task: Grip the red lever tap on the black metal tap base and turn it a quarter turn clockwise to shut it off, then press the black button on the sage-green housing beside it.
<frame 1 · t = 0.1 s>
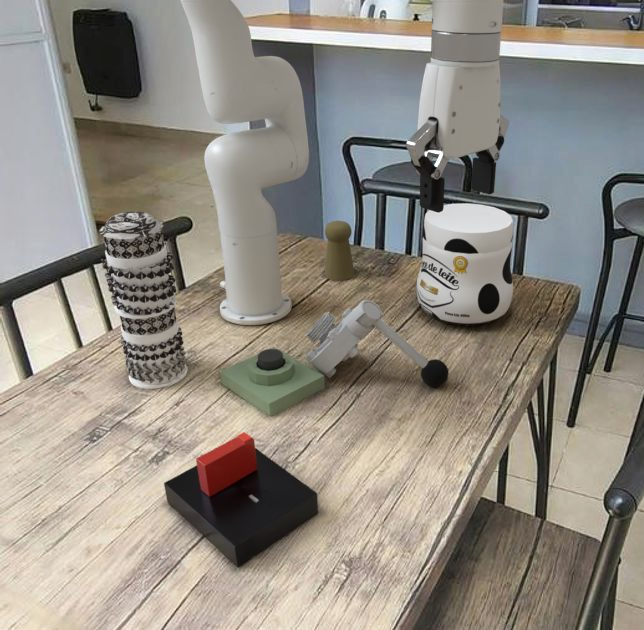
hand: (457, 200, 82), 31 cm above the table, tool pointing down, fingers open, 9 cm apart
stop button: (270, 360, 99), point 4 cm above the table, slide at 0.1 cm
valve: (377, 375, 105), on the table
olive brown pawn: (339, 275, 138), on the table
button housing: (273, 385, 101), on the table
tap handle: (227, 463, 78), point 5 cm above the table, hinge at 90.0°
decorative candle: (159, 374, 104), on the table
tap base: (242, 507, 79), on the table
milk container: (463, 312, 125), on the table
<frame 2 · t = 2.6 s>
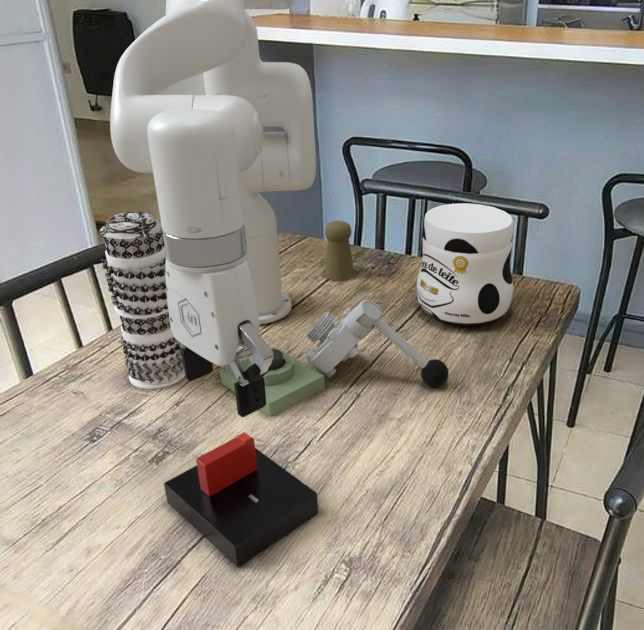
hand: (225, 392, 73), 15 cm above the table, tool pointing down, fingers open, 9 cm apart
nothing on the table moved.
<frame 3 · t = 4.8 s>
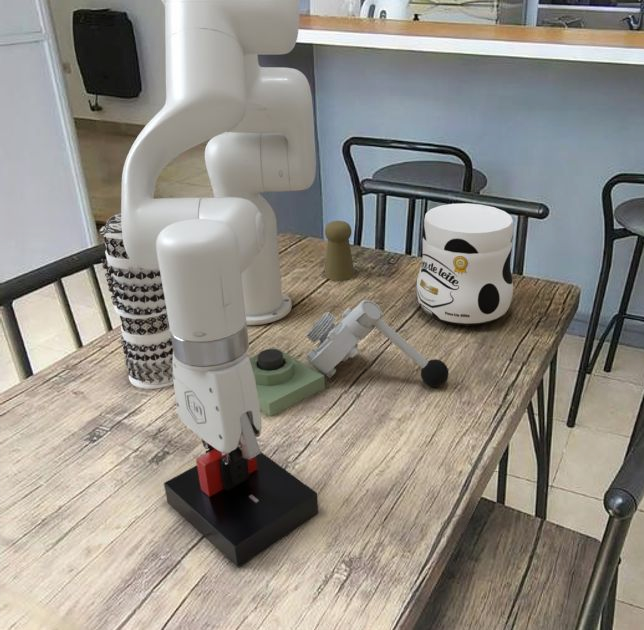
hand: (229, 477, 79), 3 cm above the table, tool pointing down, fingers closed on tap handle, 2 cm apart
tap handle: (227, 463, 78), point 5 cm above the table, hinge at 90.0°, touching gripper
everything else where it was.
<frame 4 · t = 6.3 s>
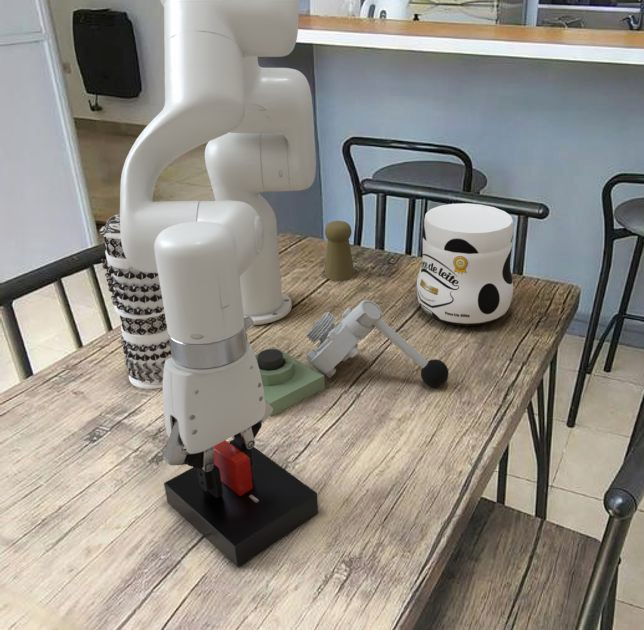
hand: (227, 481, 78), 3 cm above the table, tool pointing down, fingers open, 3 cm apart
tap handle: (227, 463, 78), point 5 cm above the table, hinge at 0.9°
everything else where it was.
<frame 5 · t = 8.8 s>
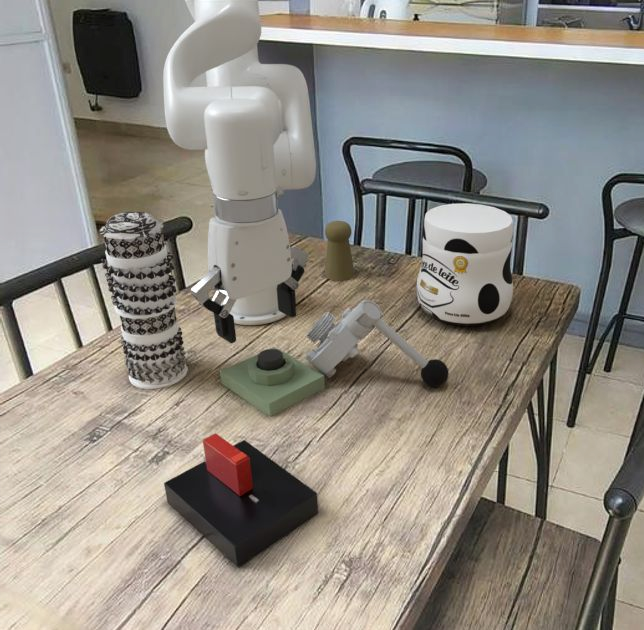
hand: (258, 325, 92), 13 cm above the table, tool pointing down, fingers open, 9 cm apart
nothing on the table moved.
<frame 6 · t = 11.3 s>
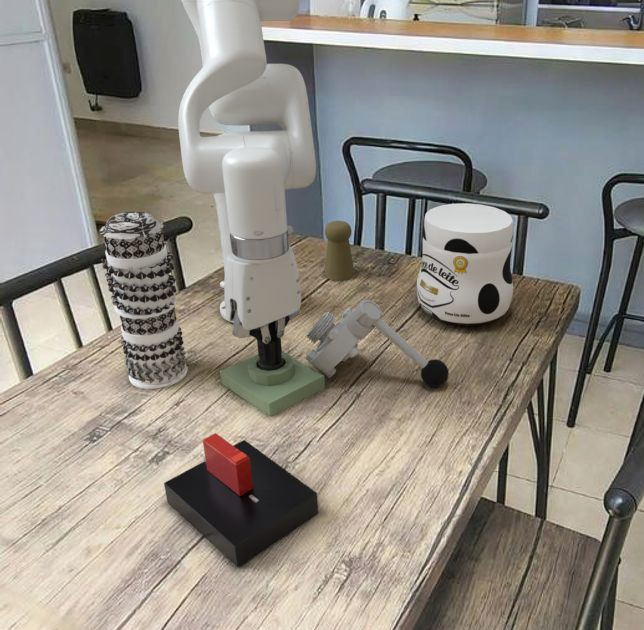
hand: (270, 361, 99), 4 cm above the table, tool pointing down, fingers closed
stop button: (271, 365, 100), point 4 cm above the table, slide at -0.8 cm, touching gripper
everything else where it was.
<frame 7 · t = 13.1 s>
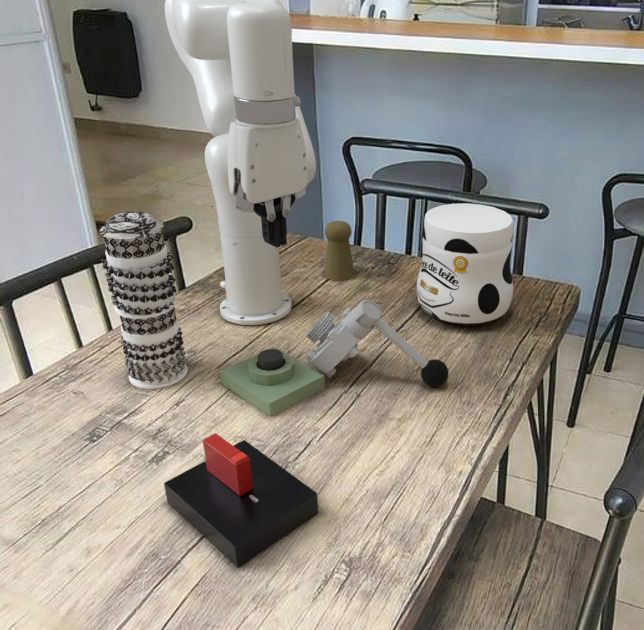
hand: (275, 243, 95), 21 cm above the table, tool pointing down, fingers closed
stop button: (270, 360, 99), point 4 cm above the table, slide at 0.1 cm
everything else where it was.
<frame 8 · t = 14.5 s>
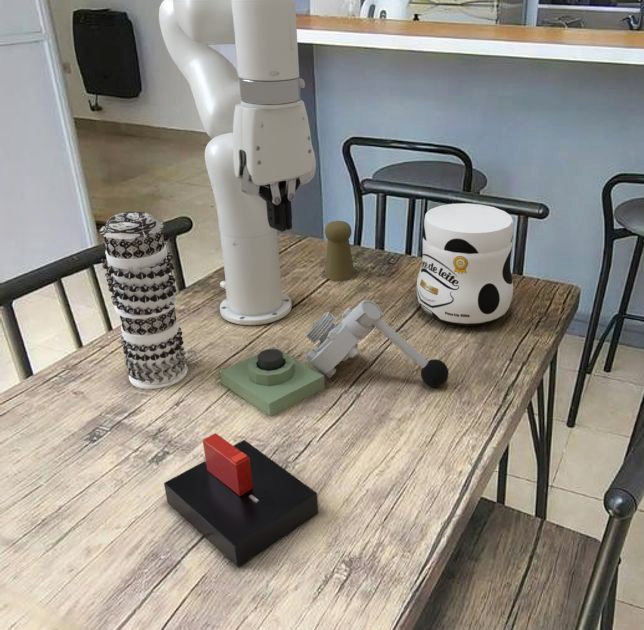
hand: (280, 227, 95), 23 cm above the table, tool pointing down, fingers closed
nothing on the table moved.
at the end: tap handle at +1° (first picture: +90°); stop button pushed in 1.1 cm at the most during the clip, back to where it started at the end; stop button slide at 0.1 cm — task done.
